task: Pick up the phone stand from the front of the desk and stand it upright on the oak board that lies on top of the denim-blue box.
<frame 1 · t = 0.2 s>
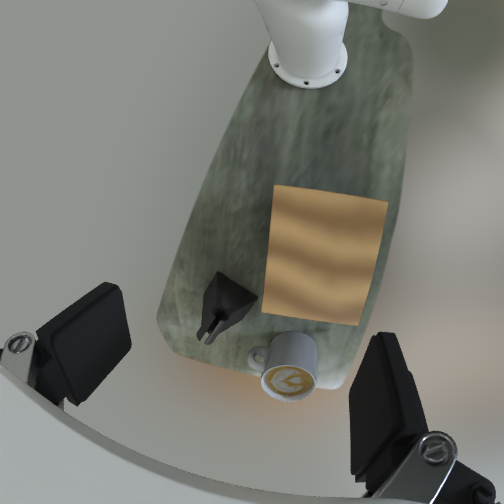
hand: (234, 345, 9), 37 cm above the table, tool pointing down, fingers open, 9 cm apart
oak board: (322, 260, 39), on the blue box, point 6 cm above the table
coffee mug: (286, 346, 53), on the table
phone stand: (231, 294, 52), on the table
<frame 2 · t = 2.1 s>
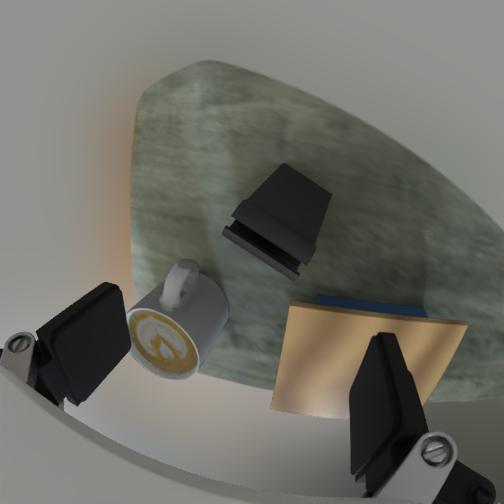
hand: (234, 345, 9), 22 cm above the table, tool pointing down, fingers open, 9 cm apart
blue box: (361, 341, 32), on the table
oak board: (366, 375, 26), on the blue box, point 6 cm above the table
coffee mug: (198, 294, 35), on the table
phone stand: (285, 212, 29), on the table
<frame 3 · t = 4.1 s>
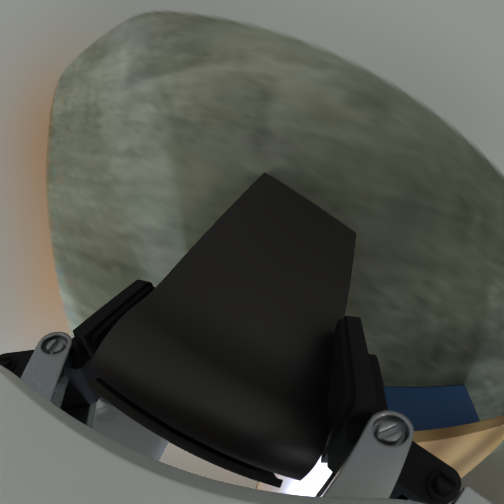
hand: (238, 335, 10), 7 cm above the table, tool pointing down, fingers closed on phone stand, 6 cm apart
blue box: (376, 427, 19), on the table
oak board: (380, 484, 13), on the blue box, point 6 cm above the table
coffee mug: (148, 365, 22), on the table
phone stand: (269, 263, 16), on the table, touching gripper
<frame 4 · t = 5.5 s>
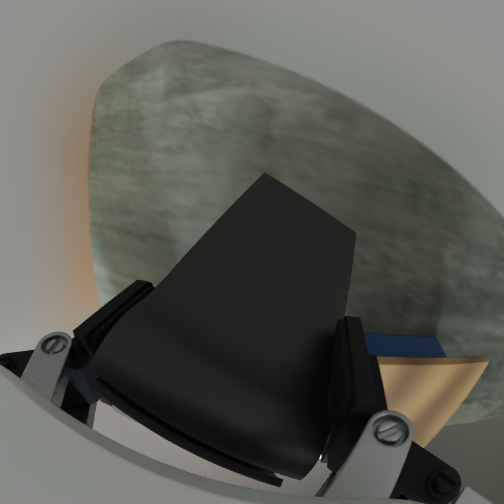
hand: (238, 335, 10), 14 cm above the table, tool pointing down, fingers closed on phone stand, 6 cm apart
blue box: (363, 375, 26), on the table
oak board: (370, 420, 20), on the blue box, point 6 cm above the table
phone stand: (269, 262, 16), point 7 cm above the table, touching gripper
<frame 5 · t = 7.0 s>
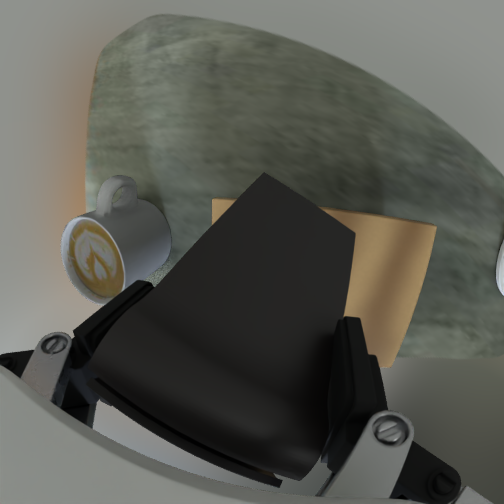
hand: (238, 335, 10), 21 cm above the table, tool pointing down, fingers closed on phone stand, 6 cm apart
oak board: (318, 294, 24), on the blue box, point 6 cm above the table
coffee mug: (143, 224, 33), on the table
phone stand: (269, 262, 16), point 14 cm above the table, touching gripper
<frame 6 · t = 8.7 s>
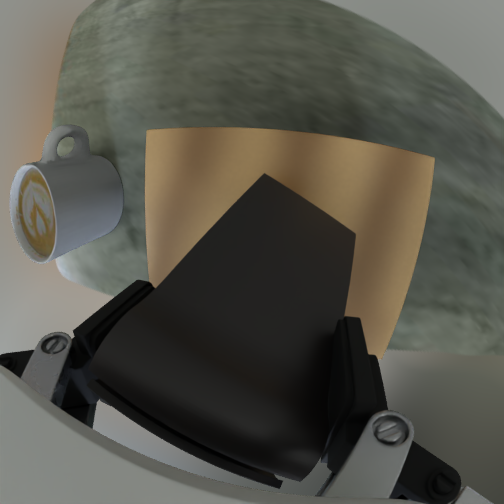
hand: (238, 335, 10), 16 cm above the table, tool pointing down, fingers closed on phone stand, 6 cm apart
oak board: (275, 249, 19), on the blue box, point 6 cm above the table
coffee mug: (98, 182, 28), on the table
phone stand: (269, 263, 16), point 9 cm above the table, touching gripper
when the fingers open (14 cm above the table, at t = 9.9 s): phone stand stays where it is, resting on oak board.
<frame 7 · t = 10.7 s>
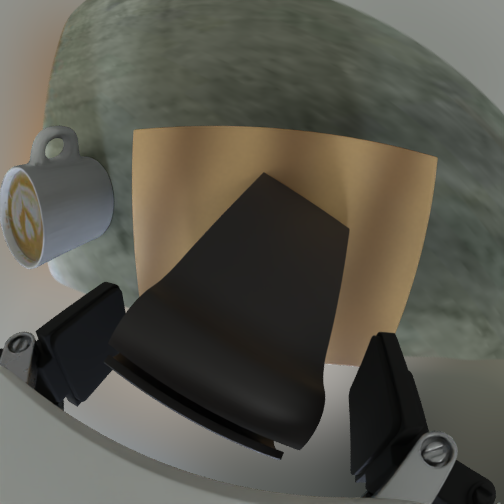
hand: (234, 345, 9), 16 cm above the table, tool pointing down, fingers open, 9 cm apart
oak board: (268, 255, 18), on the blue box, point 6 cm above the table
coffee mug: (88, 184, 26), on the table
phone stand: (268, 257, 17), point 7 cm above the table, touching oak board
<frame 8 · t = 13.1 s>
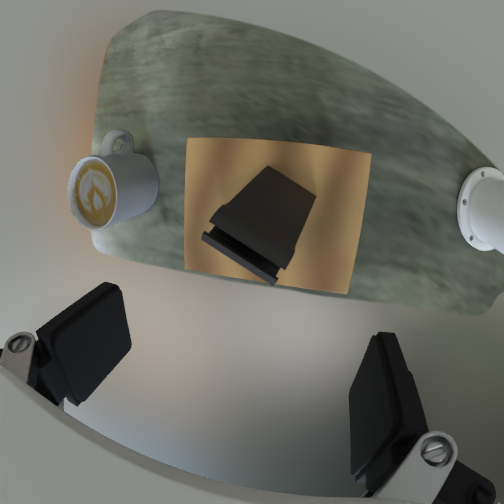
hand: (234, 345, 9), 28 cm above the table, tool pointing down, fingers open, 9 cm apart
oak board: (270, 214, 30), on the blue box, point 6 cm above the table
coffee mug: (137, 173, 38), on the table
phone stand: (270, 214, 29), point 7 cm above the table, touching oak board
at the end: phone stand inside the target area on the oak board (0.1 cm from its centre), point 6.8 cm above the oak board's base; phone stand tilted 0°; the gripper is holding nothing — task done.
